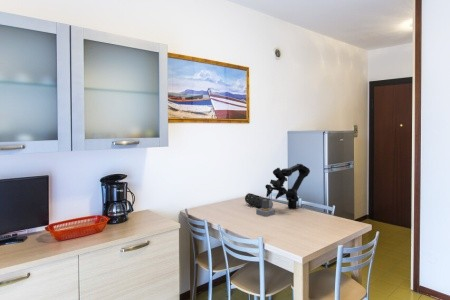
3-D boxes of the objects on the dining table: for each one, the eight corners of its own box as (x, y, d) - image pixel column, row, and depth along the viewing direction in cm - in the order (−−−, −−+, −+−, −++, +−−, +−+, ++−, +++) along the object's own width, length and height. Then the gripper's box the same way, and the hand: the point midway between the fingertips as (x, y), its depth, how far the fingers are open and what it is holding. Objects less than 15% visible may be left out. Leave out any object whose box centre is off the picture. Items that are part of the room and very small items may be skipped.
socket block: (264, 212, 243) (264, 207, 243) (274, 215, 236) (274, 209, 235) (256, 215, 237) (256, 209, 237) (265, 218, 229) (266, 212, 229)
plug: (265, 213, 239) (265, 199, 238) (269, 214, 236) (269, 199, 235) (261, 214, 236) (261, 199, 236) (265, 215, 233) (265, 200, 233)
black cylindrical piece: (253, 203, 273) (253, 192, 273) (273, 210, 249) (273, 198, 249) (244, 205, 269) (244, 193, 268) (264, 212, 244) (264, 199, 244)
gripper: (266, 174, 249) (257, 189, 243) (285, 177, 235) (275, 193, 229) (273, 182, 255) (264, 198, 248) (291, 186, 241) (282, 202, 234)
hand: (271, 197), depth 240 cm, fingers open, 9 cm apart
